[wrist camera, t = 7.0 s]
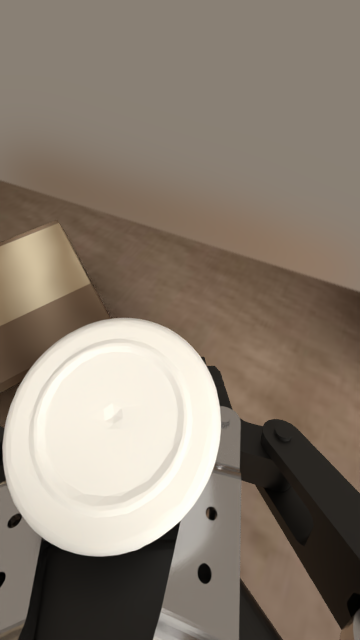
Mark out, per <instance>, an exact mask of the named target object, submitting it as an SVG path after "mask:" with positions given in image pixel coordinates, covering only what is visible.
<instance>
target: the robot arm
mask: <svg viewBox="0 0 360 640" xmlns="http://www.w3.org/2000/svg"><path fill="white" fill-rule="evenodd" d="M201 358H202V360H203V362H204V363H205V365H206V362H205V358H204V357H201ZM207 368H208V370H209V372H210V374H211V376H212V379H213V381H214V384H215V387H216V390H217V395H218V400H219V405H220V414H221V434H220V443H219V448H218V453H217V457H216V461H215V465H214V468H213V470H212V473H211V475H210V478H209V480H208V482H207V484H206V486H205V488H204V489H203V491H202V493H201V495H200V497H199V498H198V500H197V501H196V503H195V504H194V506H193V507H192V508H191V509H190V510H189V512H188V513H187V514H186V515H185V516H184V517H183V519H182V520H181V521H180V522H179V523H177V524H176V525H175V526H174V527H173V528H172V529H170V530H169V531H168V532H166V533H165V534H164V535H162V536H161V537H160V538H158V539H156V540H155V541H153V542H151V543H150V544H148V545H145V546H143V547H142V548H140V549H138V550H135V551H132V552H127V553H124V554H120V555H113V556H86V555H80V554H75V553H72V552H69V551H66V550H63V549H61V548H59V547H57V546H55V545H53V544H51V543H49V542H48V541H46V540H45V539H44V538H42V537H41V536H40V535H39V534H37V533H36V532H35V531H34V530H33V529H32V528H31V527H30V526H29V524H28V523H27V522H26V520H25V519H24V518H23V516H22V515H21V513H20V512H19V510H18V509H17V507H16V506H15V504H14V502H13V499H12V497H11V494H10V491H9V489H8V486H7V482H6V477H5V472H4V466H3V449H2V445H3V436H4V428H3V427H1V426H0V640H283V639H282V638H281V636H280V635H279V634H278V632H277V631H276V629H275V628H274V626H273V625H272V623H271V622H270V620H269V619H268V618H267V616H266V615H265V613H264V612H263V610H262V609H261V607H260V606H259V604H258V603H257V602H256V600H255V599H254V597H253V596H252V594H251V593H250V591H249V590H248V588H247V587H246V586H245V584H244V583H243V581H242V580H241V578H240V533H241V480H243V481H246V482H249V483H252V484H255V485H256V487H257V489H258V490H259V492H260V494H261V495H262V497H263V499H264V500H265V502H266V504H267V505H268V507H269V509H270V511H271V512H272V514H273V516H274V517H275V519H276V521H277V522H278V524H279V526H280V527H281V529H282V531H283V532H284V534H285V536H286V537H287V539H288V541H289V542H290V544H291V546H292V547H293V549H294V551H295V552H296V554H297V556H298V557H299V559H300V561H301V563H302V564H303V566H304V568H305V569H306V571H307V573H308V574H309V576H310V578H311V579H312V581H313V583H314V584H315V586H316V588H317V589H318V591H319V593H320V594H321V596H322V598H323V599H324V601H325V603H326V604H327V606H328V608H329V609H330V611H331V613H332V614H333V616H334V618H335V620H336V621H337V623H338V625H339V626H340V628H341V630H342V631H341V634H340V639H339V640H360V493H359V492H358V491H357V490H356V489H355V488H354V487H353V486H352V485H351V484H350V483H349V482H348V481H347V480H346V479H345V478H344V477H343V476H342V475H341V474H340V473H339V472H338V470H337V469H336V468H335V467H334V466H333V465H332V464H331V463H330V462H329V461H328V460H327V459H326V458H325V457H324V456H323V455H322V454H321V453H320V452H319V451H318V450H317V449H316V448H315V447H314V446H313V445H312V444H311V443H310V442H309V441H308V440H307V438H306V437H305V436H304V435H303V434H302V433H301V432H300V431H299V430H298V429H297V428H296V427H294V426H293V425H292V424H290V423H288V422H286V421H283V420H279V419H272V420H269V421H267V422H266V423H265V424H264V426H259V425H255V424H251V423H248V422H245V421H243V420H242V419H240V418H239V416H238V415H237V413H236V412H235V411H233V410H232V407H231V404H230V401H229V398H228V395H227V392H226V389H225V386H224V382H223V380H222V376H221V373H220V371H219V370H218V369H217V368H216V367H215V366H207Z"/></svg>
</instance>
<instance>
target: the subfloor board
mask: <svg viewBox="0 0 360 640" xmlns="http://www.w3.org/2000/svg"><path fill="white" fill-rule="evenodd" d="M106 319H111V318H110V316H109V314H108V312H107V310H106V308H105V306H104V305H103V303H102V301H101V299H100V297H99V295H98V293H97V291H96V289H95V288H94V286H93V284H92V282H91V280H90V278H89V276H88V274H87V273H86V271H85V269H84V267H83V265H82V263H81V261H80V259H79V257H78V256H77V254H76V252H75V250H74V248H73V246H72V244H71V242H70V240H69V239H68V237H67V235H66V233H65V231H64V229H63V228H62V226H61V225H60V223H59V222H58V220H55V221H53V222H50V223H48V224H45V225H43V226H40V227H38V228H35V229H33V230H30V231H28V232H25V233H23V234H20V235H18V236H15V237H12V238H10V239H7V240H5V241H2V242H0V393H1V392H3V391H5V390H6V389H8V388H10V387H12V386H14V385H16V384H18V383H20V382H21V381H22V380H23V379H24V377H25V376H26V374H27V373H28V371H29V370H30V368H31V367H32V366H33V364H34V363H35V362H36V361H37V359H38V358H39V357H40V356H41V355H42V354H43V353H44V352H45V351H46V350H47V349H49V348H50V347H51V346H52V345H53V344H55V343H56V342H57V341H58V340H60V339H61V338H63V337H64V336H66V335H67V334H69V333H71V332H73V331H75V330H77V329H79V328H81V327H83V326H86V325H88V324H91V323H94V322H97V321H101V320H106Z"/></svg>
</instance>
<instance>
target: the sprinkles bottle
mask: <svg viewBox="0 0 360 640" xmlns="http://www.w3.org/2000/svg"><path fill="white" fill-rule="evenodd" d="M220 434H221V414H220V405H219V400H218V395H217V390H216V387H215V384H214V381H213V379H212V376H211V374H210V372H209V370H208V368H207V366H206V365H205V363H204V362H203V360H202V358H201V357H200V356H199V354H198V353H197V352H196V351H195V349H194V348H193V347H192V346H191V345H190V344H189V343H188V342H187V341H186V340H184V339H183V338H182V337H181V336H179V335H178V334H176V333H175V332H173V331H172V330H170V329H169V328H167V327H164V326H162V325H159V324H157V323H154V322H151V321H147V320H143V319H137V318H113V319H106V320H101V321H97V322H94V323H91V324H88V325H86V326H83V327H81V328H79V329H77V330H75V331H73V332H71V333H69V334H67V335H66V336H64V337H63V338H61V339H60V340H58V341H57V342H56V343H55V344H53V345H52V346H51V347H50V348H49V349H47V350H46V351H45V352H44V353H43V354H42V355H41V356H40V357H39V358H38V359H37V361H36V362H35V363H34V364H33V366H32V367H31V368H30V370H29V371H28V373H27V374H26V376H25V377H24V379H23V380H22V382H21V384H20V386H19V387H18V389H17V391H16V393H15V396H14V398H13V401H12V403H11V405H10V409H9V412H8V416H7V419H6V423H5V429H4V436H3V445H2V449H3V466H4V472H5V477H6V482H7V486H8V489H9V491H10V494H11V497H12V499H13V502H14V504H15V506H16V507H17V509H18V510H19V512H20V513H21V515H22V516H23V518H24V519H25V520H26V522H27V523H28V524H29V526H30V527H31V528H32V529H33V530H34V531H35V532H36V533H37V534H39V535H40V536H41V537H42V538H44V539H45V540H46V541H48V542H49V543H51V544H53V545H55V546H57V547H59V548H61V549H63V550H66V551H69V552H72V553H75V554H80V555H86V556H113V555H120V554H124V553H127V552H132V551H135V550H138V549H140V548H142V547H143V546H145V545H148V544H150V543H151V542H153V541H155V540H156V539H158V538H160V537H161V536H162V535H164V534H165V533H166V532H168V531H169V530H170V529H172V528H173V527H174V526H175V525H176V524H177V523H179V522H180V521H181V520H182V519H183V517H184V516H185V515H186V514H187V513H188V512H189V510H190V509H191V508H192V507H193V506H194V504H195V503H196V501H197V500H198V498H199V497H200V495H201V493H202V491H203V489H204V488H205V486H206V484H207V482H208V480H209V478H210V475H211V473H212V470H213V468H214V465H215V461H216V457H217V453H218V448H219V443H220Z"/></svg>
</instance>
